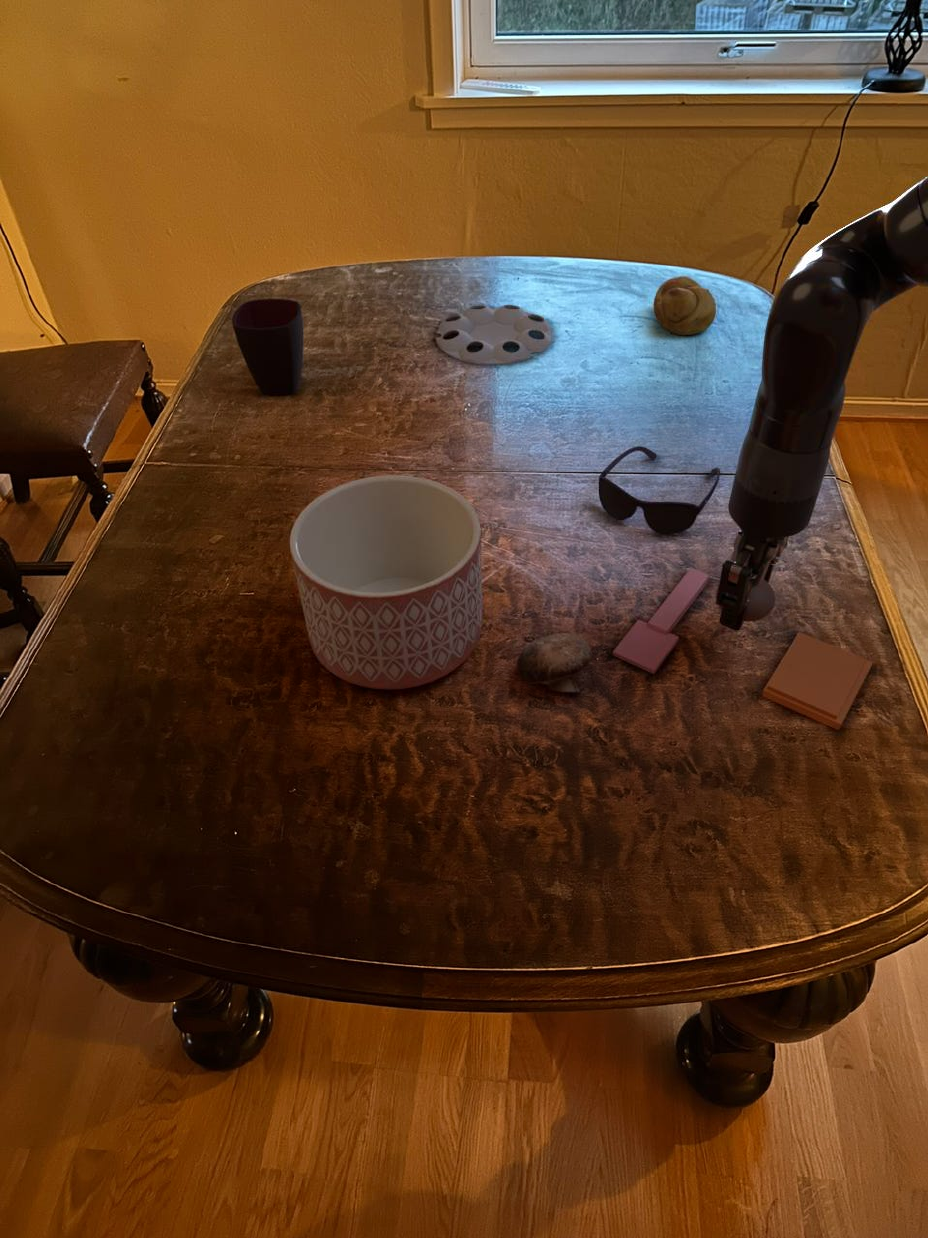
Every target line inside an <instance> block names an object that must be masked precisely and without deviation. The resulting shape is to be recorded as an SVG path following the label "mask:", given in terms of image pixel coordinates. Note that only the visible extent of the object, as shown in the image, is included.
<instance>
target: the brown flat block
mask: <svg viewBox="0 0 928 1238" xmlns="http://www.w3.org/2000/svg"><path fill="white" fill-rule="evenodd" d="M873 664H874V662H873V661H870V660H868V659H866V658H864V657H862V656H859V655H857V654H854V653H851V652H849V651H847V650H844V649H841V648H839V647H837V646H834V645H832V644H829V643H828V642H825V641H822V640H820V639H817V638H815V637H813V636H811V635H807V634H805V633H802V632H800V631H799V632H798V633H797V634H796V636H795V638H794V639H793V641H792V642H791V644H790V646H789V647H788V649H787V651H786V652H785V654H784V655H783V657H782V659H781V661H780V662H779V664H778V666H777V667H776V669H775V670H774V672H773V673H772V676H771V677H770V679H769V680H768V682H767V683H766V685H765V687H764V688H763V689H762V694H761V697H763V698H765V699H768V700H770V701H772V702H774V703H776V704H779V705H781V706H783V707H785V708H787V709H790V710H792V711H794V712H797V713H799V714H801V715H803V716H804V717H805V716H806V717H808V718H810V719H812V720H813V721H816V722H818V723H821V724H824V725H825V726H828V727H830V728H832V729H835V730H837V731H839V730H840V729H841V727H842V725H843V723H844V721H845V719H846V717H847V716H848V713H849V711H850V709H851V708H852V705H853V703H854V702H855V700H856V697H857V696H858V693H859V692H860V690H861V689H862V686H863V685H864V682H865V681H866V678H867V676H868V674H869V672H870V670H871V668H872V666H873Z"/></svg>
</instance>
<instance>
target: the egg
mask: <svg viewBox="0 0 928 1238" xmlns="http://www.w3.org/2000/svg"><path fill="white" fill-rule="evenodd" d="M752 575H754V574H752ZM755 576H757V575H755ZM718 588H719V584H717V587H716V589H715V599H716V598H717V594H718ZM750 600H751V601H750V603H749V605H748V607H747V610H746V614H745V617H744V621H743V622H748V623H749V622H750V623H751V622H756V621H759V620H762V619H764V618H766V617H767V616H769V615H770V614H771V612H772V611H773V610H774V608H775V605H776V594H775V591H774V589H773V587H772V585H771V584H770V582H769V583H768V582H767V581H766V580H763V582H762V583H761V584H760V585H759V586H757V587H755V588H754V591H753V593H752V596H751V598H750ZM717 605H718V604H717ZM722 607H723V606H721V605H718V608H719V609H720V611H722Z"/></svg>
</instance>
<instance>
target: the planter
mask: <svg viewBox="0 0 928 1238" xmlns="http://www.w3.org/2000/svg"><path fill="white" fill-rule="evenodd" d="M289 550H290V554H291V555H290V556H291V561H292V566H293V569H294V574H295V580H296V584H297V588H298V592H299V598H300V602H301V603H300V604H301V606H302V611H303V616H304V621H305V626H306V630H307V634H308V639H309V643H310V646H311V649H312V652H313V654H314V655H315V657H316V659H317V660H318V662H319V663H320V664H321V665H322V666H323V667H324V668H325V669H326V670H327V671H329V672H330V673H332V674H333V675H334V676H335V677H336V678H337V677H338V678H340V680H344V681H345V682H347V683H350V684H353V685H356V686H358V687H363V688H369V689H374V690H388V691H389V690H405V689H410V688H416V687H420V686H423V685H427V684H430V683H432V682H434V681H436V680H439V679H441V678H444V677H445V676H447V675H448V674H450V673H451V672H453V671H455V670H457V668H459V667H460V666H461V665H463V663H465V661H467V659H468V658H469V657H470V656H471V654H473V652H474V651H475V649H476V648H477V645H478V643H479V641H480V638H481V635H482V629H483V582H482V581H483V578H482V577H483V573H482V571H483V570H482V530H481V522H480V519H479V515H478V514H477V511H476V510H475V509H474V507H473V505H472V504H471V503H470V502H469V501H468V499H466V498H465V497H464V496H463V495H461V494H460V493H459V492H457V491H456V490H454V489H453V488H452V487H449V486H448V485H445V484H443V483H440V482H437V481H434V480H431V479H427V478H424V477H418V476H411V475H394V474H393V475H392V474H391V475H377V476H370V477H364V478H360V479H356V480H351V481H349V482H346V483H343V484H341V485H338V486H336V487H334V488H331V489H329V490H327V491H326V492H324V493H322V494H320V495H319V496H317V497H316V498H315V499H314V500H313V501H311V502H309V504H307V505H306V507H305V508H303V510H302V511H301V512H300V514H299V515H298V516H297V517H296V519H295V521H294V523H293V526H292V528H291V531H290V536H289Z"/></svg>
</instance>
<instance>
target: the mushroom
mask: <svg viewBox="0 0 928 1238" xmlns="http://www.w3.org/2000/svg"><path fill="white" fill-rule="evenodd" d="M592 652H593V651H592V648H591V646H590V644H589V642H588V641H587V640H586V639H584V638H583V637H581V636H578V635H576V634H572V633H568V632H556V633H553V634H549V635H545V636H543V637H540V638H537V639H536V640H534V641H533V642H531V643H530V644H528V645H526V647H525V648H523V650H522V652H520V654H519V656H518V658H517V662H516V672H517V676H518V678H519V679H520V681H522V683H524V684H544V685H546V687H548V689H549V690H551V691H554V692H559V693H580V692H581V689H579V687H578V685H577V683H576V678H575V676H576V675H577V674H579V673H580V672H582V671H584V670H585V669H586V668H587V667H588V666H589V664H590V663H591V662H592V660H593V653H592Z"/></svg>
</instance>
